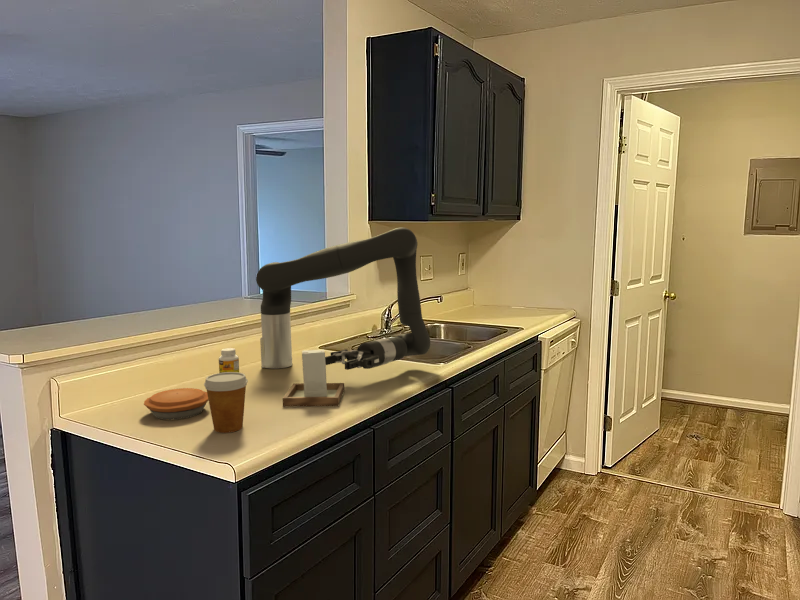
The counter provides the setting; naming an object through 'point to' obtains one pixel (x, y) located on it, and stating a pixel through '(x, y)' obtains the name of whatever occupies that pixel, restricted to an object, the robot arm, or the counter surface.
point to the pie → (177, 403)
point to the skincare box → (314, 373)
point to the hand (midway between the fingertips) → (334, 363)
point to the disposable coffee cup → (226, 400)
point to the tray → (297, 398)
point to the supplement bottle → (228, 361)
